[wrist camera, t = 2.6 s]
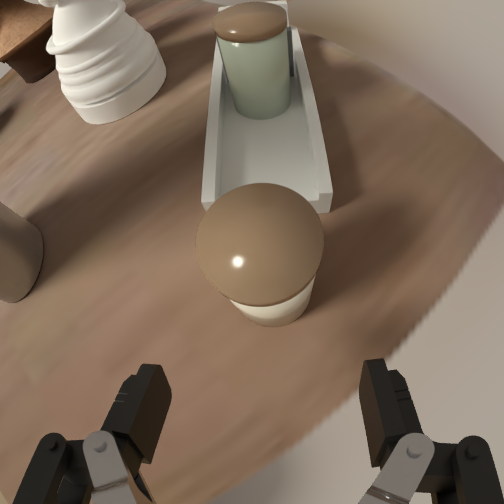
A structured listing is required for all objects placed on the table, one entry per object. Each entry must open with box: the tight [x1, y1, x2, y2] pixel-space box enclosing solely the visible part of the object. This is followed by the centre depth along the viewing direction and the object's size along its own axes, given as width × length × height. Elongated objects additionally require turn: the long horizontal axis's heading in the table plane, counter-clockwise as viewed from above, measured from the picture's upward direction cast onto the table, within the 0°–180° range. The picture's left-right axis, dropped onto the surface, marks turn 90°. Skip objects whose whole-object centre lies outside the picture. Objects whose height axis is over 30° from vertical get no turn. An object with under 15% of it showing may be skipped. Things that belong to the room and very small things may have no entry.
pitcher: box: [0, 0, 56, 83], centre depth 31 cm, size 18×17×28 cm
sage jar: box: [212, 2, 291, 120], centre depth 24 cm, size 6×6×10 cm
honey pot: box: [38, 0, 166, 124], centre depth 26 cm, size 13×13×18 cm
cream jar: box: [196, 183, 324, 327], centre depth 19 cm, size 6×6×10 cm
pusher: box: [216, 27, 294, 83], centre depth 28 cm, size 5×7×6 cm
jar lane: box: [201, 1, 333, 214], centre depth 26 cm, size 24×10×7 cm, turn 1°
